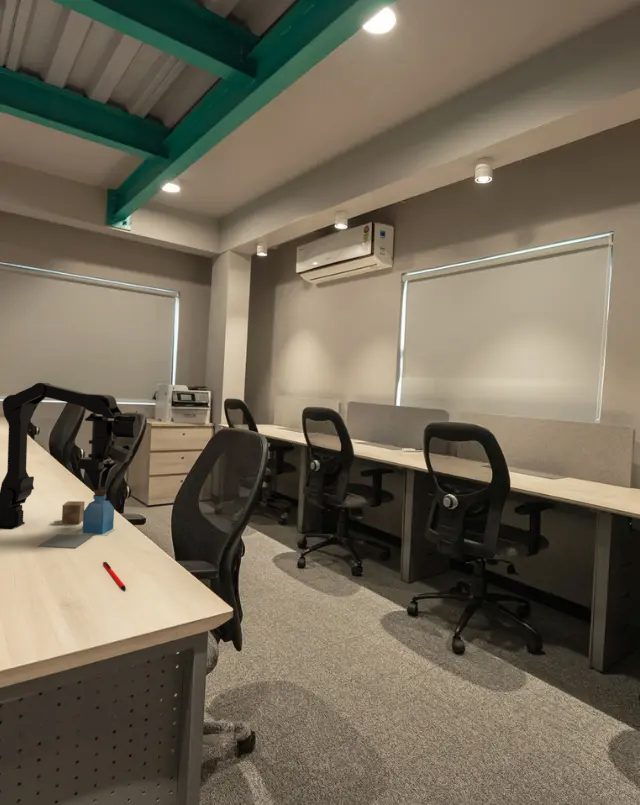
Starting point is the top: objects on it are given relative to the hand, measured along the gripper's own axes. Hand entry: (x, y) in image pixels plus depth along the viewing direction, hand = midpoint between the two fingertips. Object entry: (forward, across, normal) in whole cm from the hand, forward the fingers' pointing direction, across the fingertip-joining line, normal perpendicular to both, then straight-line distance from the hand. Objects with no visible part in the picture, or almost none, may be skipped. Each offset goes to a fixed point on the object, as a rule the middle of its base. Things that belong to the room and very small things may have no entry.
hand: (100, 488), depth 147 cm
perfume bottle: (+13, 0, 0) cm, 13 cm away
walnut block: (+13, +7, +11) cm, 18 cm away
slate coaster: (+13, -11, +4) cm, 17 cm away
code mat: (+13, 0, 0) cm, 13 cm away
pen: (+14, -33, -18) cm, 40 cm away
